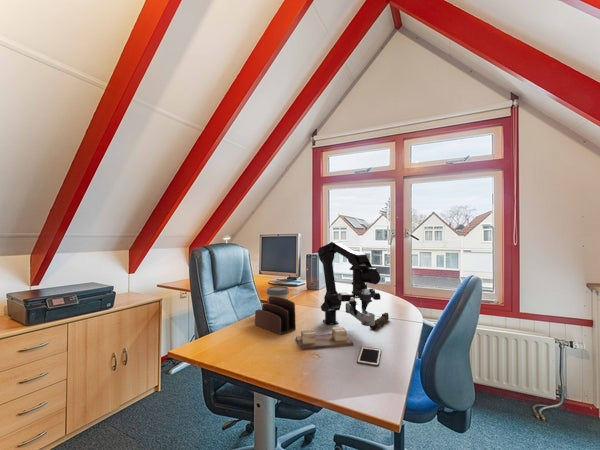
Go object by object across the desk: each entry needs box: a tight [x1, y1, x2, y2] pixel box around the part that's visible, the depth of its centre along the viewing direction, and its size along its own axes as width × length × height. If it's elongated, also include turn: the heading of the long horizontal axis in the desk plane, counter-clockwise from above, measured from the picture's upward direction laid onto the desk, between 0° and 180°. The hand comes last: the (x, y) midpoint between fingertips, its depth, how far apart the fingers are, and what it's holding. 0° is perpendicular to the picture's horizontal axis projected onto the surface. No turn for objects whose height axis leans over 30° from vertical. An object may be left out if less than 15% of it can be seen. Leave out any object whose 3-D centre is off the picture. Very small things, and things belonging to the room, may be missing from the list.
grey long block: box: [345, 301, 376, 327], centre depth 130 cm, size 24×6×4 cm, turn 12°
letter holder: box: [254, 296, 297, 336], centre depth 141 cm, size 10×20×14 cm, turn 45°
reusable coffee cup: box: [266, 285, 290, 304], centre depth 162 cm, size 13×13×15 cm
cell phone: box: [356, 346, 382, 368], centre depth 109 cm, size 8×15×1 cm, turn 160°
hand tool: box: [369, 312, 390, 331], centre depth 145 cm, size 19×4×5 cm, turn 139°
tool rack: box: [295, 326, 354, 351], centre depth 122 cm, size 12×22×5 cm, turn 102°
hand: (359, 315), depth 130 cm, fingers closed on grey long block, 3 cm apart
